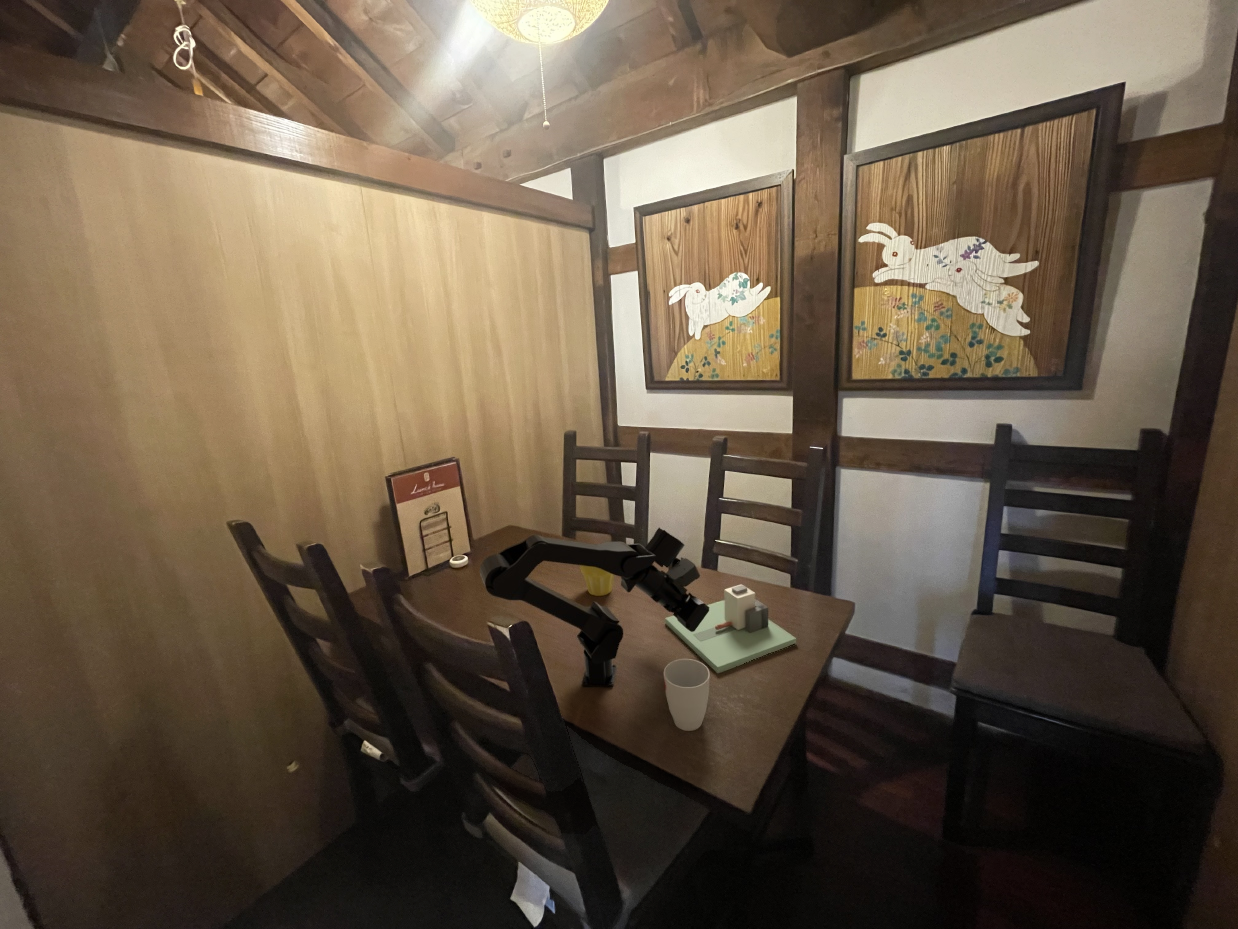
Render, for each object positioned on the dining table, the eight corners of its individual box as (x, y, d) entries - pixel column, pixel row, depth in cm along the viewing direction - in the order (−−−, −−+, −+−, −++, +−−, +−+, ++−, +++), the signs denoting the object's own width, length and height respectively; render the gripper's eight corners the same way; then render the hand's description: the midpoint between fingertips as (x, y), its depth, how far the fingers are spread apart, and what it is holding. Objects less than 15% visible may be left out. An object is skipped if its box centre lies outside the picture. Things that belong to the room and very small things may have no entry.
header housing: (749, 633, 114) (749, 613, 113) (726, 615, 122) (726, 597, 121) (768, 626, 116) (768, 607, 115) (744, 610, 124) (744, 591, 123)
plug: (721, 635, 113) (721, 600, 111) (709, 625, 118) (708, 591, 116) (755, 624, 117) (755, 589, 115) (741, 614, 121) (741, 581, 119)
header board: (717, 673, 103) (717, 663, 103) (665, 623, 123) (665, 615, 122) (796, 644, 111) (796, 635, 111) (735, 601, 131) (735, 593, 130)
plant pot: (625, 586, 143) (623, 554, 141) (606, 602, 135) (603, 569, 133) (595, 579, 149) (592, 548, 146) (575, 594, 140) (572, 562, 138)
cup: (681, 699, 96) (679, 653, 94) (718, 716, 91) (718, 668, 89) (657, 724, 90) (654, 676, 88) (696, 744, 85) (694, 694, 83)
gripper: (700, 568, 98) (745, 605, 105) (655, 538, 115) (697, 572, 122) (666, 614, 97) (714, 649, 104) (626, 577, 114) (669, 609, 120)
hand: (698, 616), depth 112 cm, fingers closed
